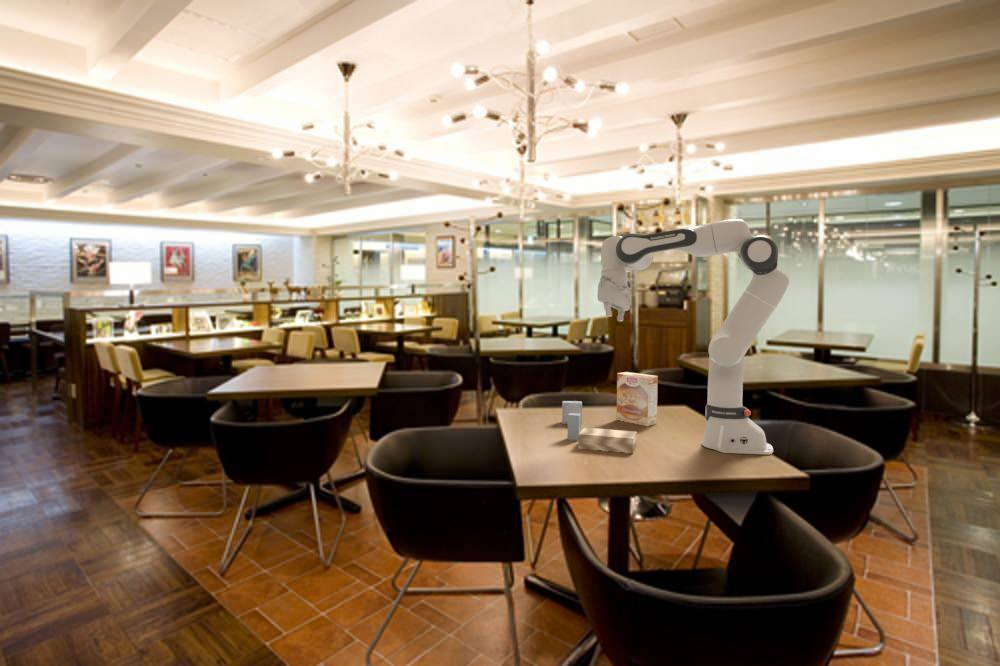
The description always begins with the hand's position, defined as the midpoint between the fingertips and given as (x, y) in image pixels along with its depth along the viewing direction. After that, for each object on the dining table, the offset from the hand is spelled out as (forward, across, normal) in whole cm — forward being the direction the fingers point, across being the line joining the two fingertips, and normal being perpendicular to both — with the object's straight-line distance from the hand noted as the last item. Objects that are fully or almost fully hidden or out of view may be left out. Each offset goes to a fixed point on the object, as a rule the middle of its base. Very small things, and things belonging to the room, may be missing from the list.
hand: (614, 318), depth 204 cm
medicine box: (+36, +20, +29) cm, 50 cm away
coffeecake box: (+35, +37, +9) cm, 52 cm away
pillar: (+42, 0, +17) cm, 45 cm away
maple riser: (+45, -3, +2) cm, 45 cm away
